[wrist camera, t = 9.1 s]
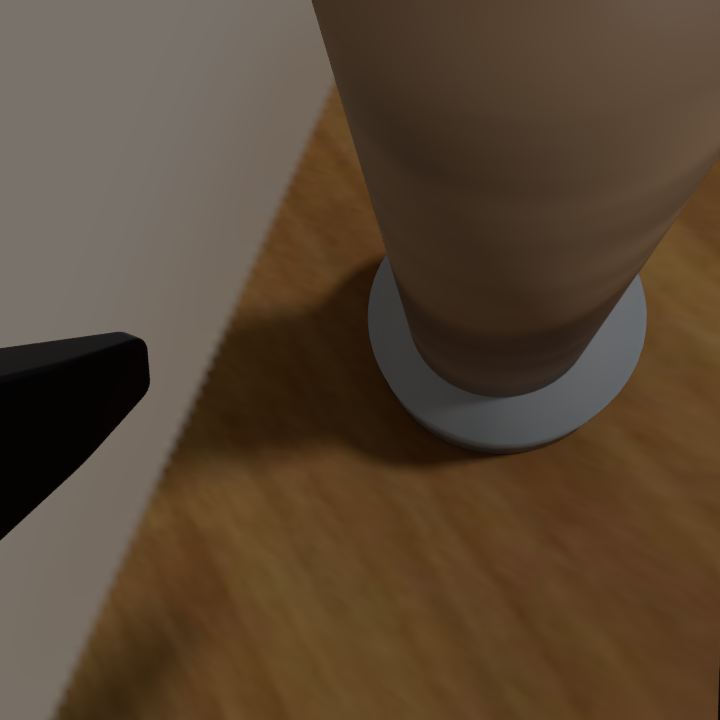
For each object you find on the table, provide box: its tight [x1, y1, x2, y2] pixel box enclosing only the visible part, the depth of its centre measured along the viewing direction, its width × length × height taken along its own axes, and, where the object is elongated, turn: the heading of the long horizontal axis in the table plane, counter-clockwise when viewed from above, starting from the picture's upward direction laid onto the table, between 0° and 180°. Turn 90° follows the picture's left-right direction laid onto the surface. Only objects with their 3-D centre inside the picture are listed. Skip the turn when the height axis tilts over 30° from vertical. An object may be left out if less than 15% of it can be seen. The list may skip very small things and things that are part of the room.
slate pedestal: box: [368, 254, 647, 454], centre depth 19 cm, size 9×9×3 cm
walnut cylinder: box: [312, 0, 720, 397], centre depth 12 cm, size 6×6×12 cm
